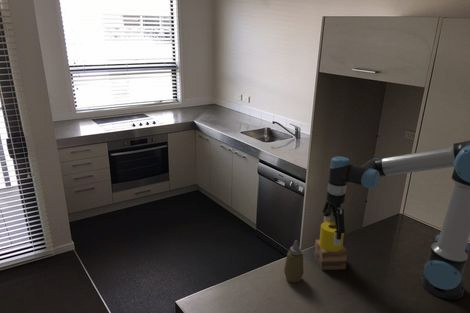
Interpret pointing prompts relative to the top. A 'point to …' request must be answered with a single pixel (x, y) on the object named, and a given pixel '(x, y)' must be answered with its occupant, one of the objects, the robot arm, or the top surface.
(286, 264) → the squeeze bottle
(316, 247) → the tower block top
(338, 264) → the tower block bottom
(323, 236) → the yellow toilet paper roll
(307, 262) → the top surface
